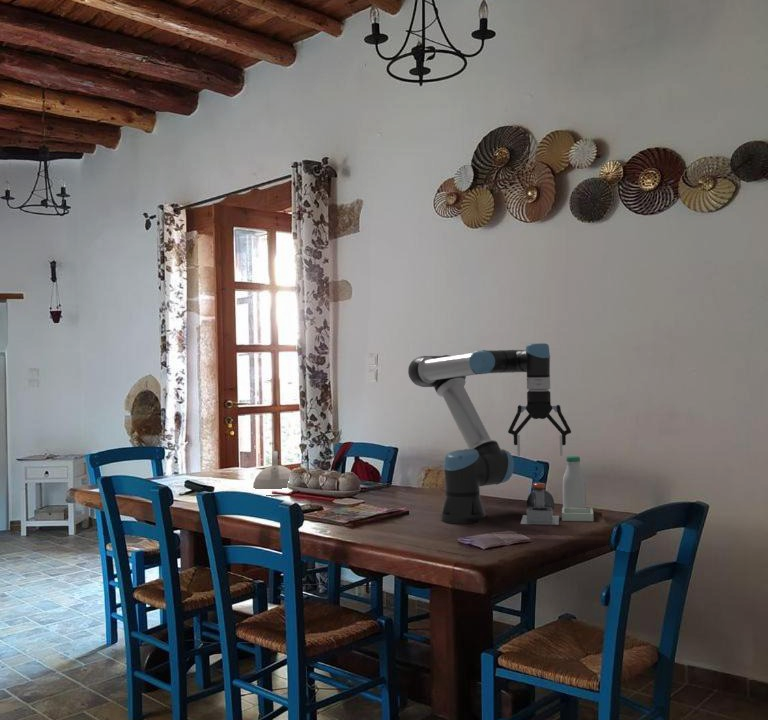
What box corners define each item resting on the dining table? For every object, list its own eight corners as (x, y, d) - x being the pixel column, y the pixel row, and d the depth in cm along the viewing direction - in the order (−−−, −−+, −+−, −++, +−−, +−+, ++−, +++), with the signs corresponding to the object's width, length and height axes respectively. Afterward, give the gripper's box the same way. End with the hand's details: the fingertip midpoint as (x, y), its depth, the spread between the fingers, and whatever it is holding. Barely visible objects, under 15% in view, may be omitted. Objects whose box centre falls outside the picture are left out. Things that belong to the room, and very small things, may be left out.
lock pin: (533, 522, 259) (532, 484, 259) (533, 519, 263) (532, 482, 264) (546, 522, 258) (545, 484, 259) (546, 520, 262) (545, 482, 263)
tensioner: (520, 527, 257) (519, 495, 257) (523, 518, 272) (522, 488, 272) (558, 528, 255) (557, 496, 255) (559, 519, 269) (558, 488, 269)
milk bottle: (586, 516, 273) (584, 457, 273) (563, 516, 275) (561, 457, 275) (585, 512, 281) (583, 455, 281) (563, 512, 282) (561, 455, 283)
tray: (562, 524, 261) (561, 513, 261) (562, 518, 271) (562, 507, 271) (593, 524, 259) (593, 513, 259) (592, 519, 268) (592, 508, 268)
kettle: (250, 497, 334) (249, 454, 335) (254, 489, 355) (253, 449, 355) (299, 495, 336) (298, 452, 336) (300, 488, 357) (299, 447, 357)
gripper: (499, 391, 260) (500, 456, 260) (578, 390, 256) (579, 456, 256) (500, 390, 268) (501, 453, 268) (577, 389, 263) (578, 454, 263)
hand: (539, 455), depth 262 cm, fingers open, 13 cm apart
